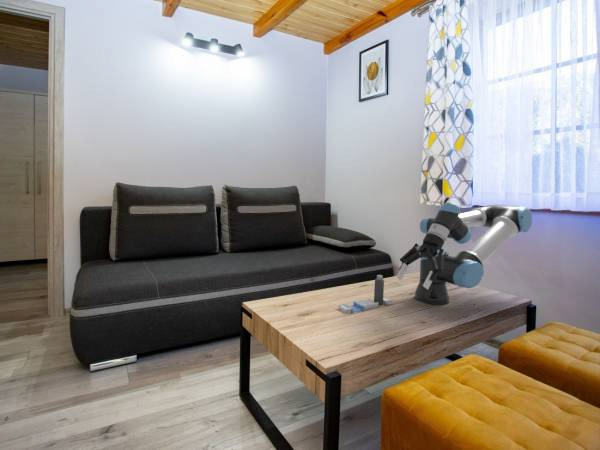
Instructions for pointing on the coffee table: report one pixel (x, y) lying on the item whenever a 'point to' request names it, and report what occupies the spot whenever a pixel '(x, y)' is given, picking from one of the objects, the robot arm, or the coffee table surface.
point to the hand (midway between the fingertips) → (411, 283)
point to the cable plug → (379, 290)
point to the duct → (362, 305)
